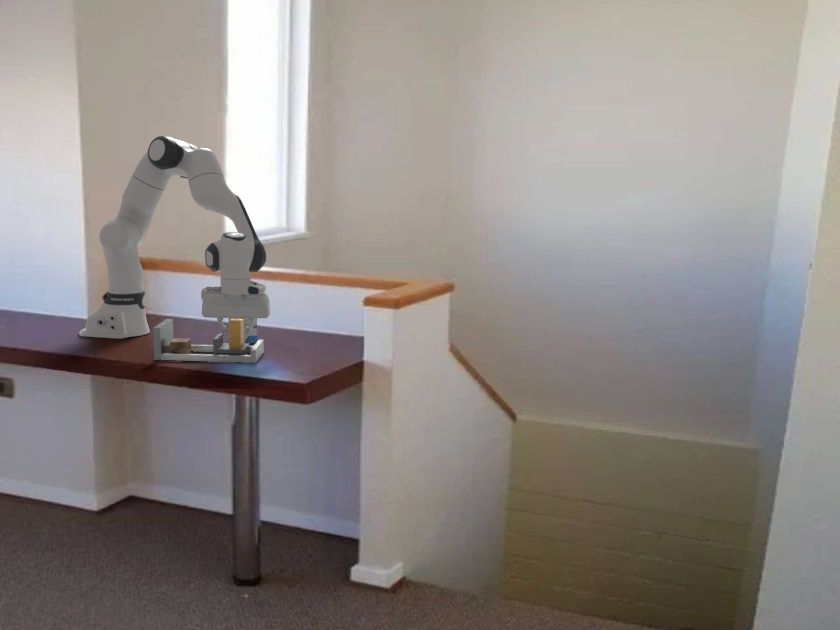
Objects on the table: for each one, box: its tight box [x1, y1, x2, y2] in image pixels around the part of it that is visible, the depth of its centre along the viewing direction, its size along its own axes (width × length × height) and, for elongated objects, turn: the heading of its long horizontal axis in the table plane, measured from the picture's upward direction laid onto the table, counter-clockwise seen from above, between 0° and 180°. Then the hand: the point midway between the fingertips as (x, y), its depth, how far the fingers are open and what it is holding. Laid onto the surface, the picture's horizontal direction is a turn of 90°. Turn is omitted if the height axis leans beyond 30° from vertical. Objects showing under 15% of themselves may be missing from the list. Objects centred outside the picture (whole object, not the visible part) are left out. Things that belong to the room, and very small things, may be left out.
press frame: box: [152, 318, 265, 364], centre depth 270 cm, size 30×14×10 cm, turn 90°
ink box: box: [227, 318, 258, 345], centre depth 290 cm, size 9×5×12 cm, turn 112°
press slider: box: [212, 319, 250, 355], centre depth 270 cm, size 9×9×11 cm
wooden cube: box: [170, 337, 192, 354], centre depth 271 cm, size 5×5×5 cm
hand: (236, 332), depth 270 cm, fingers open, 6 cm apart
